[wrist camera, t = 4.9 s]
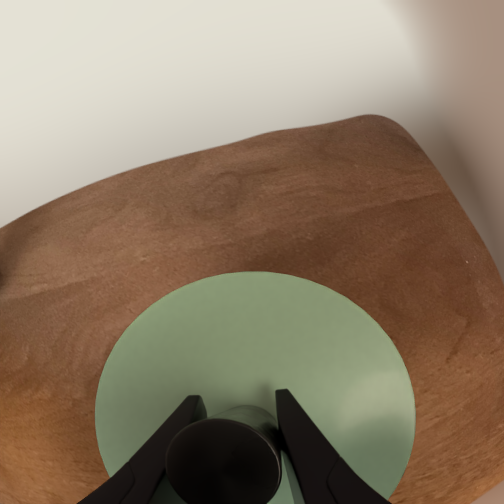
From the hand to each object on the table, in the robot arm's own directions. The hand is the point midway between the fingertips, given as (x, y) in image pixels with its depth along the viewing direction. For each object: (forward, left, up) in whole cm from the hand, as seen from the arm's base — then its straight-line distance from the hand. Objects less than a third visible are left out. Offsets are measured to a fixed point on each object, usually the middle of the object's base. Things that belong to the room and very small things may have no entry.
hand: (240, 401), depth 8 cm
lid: (-1, 0, -2) cm, 2 cm away
